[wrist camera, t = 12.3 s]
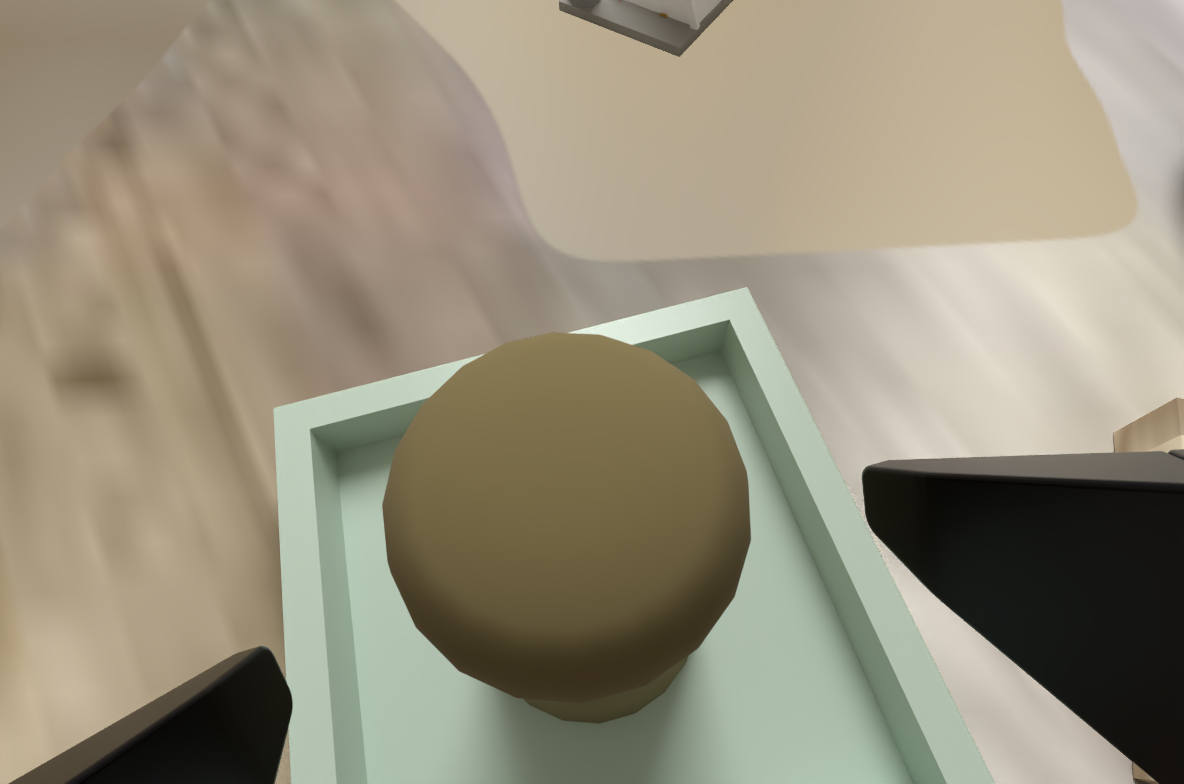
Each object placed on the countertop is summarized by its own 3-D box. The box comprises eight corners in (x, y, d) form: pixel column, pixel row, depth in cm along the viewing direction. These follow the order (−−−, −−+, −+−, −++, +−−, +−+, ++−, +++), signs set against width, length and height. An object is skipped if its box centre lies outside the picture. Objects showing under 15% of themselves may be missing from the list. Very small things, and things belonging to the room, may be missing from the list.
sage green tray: (961, 817, 15) (1022, 836, 13) (355, 1036, 14) (306, 1099, 12) (733, 329, 22) (746, 286, 20) (310, 440, 20) (273, 408, 18)
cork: (738, 664, 16) (922, 599, 7) (526, 766, 15) (377, 867, 6) (641, 467, 19) (672, 213, 9) (455, 545, 18) (269, 354, 8)
